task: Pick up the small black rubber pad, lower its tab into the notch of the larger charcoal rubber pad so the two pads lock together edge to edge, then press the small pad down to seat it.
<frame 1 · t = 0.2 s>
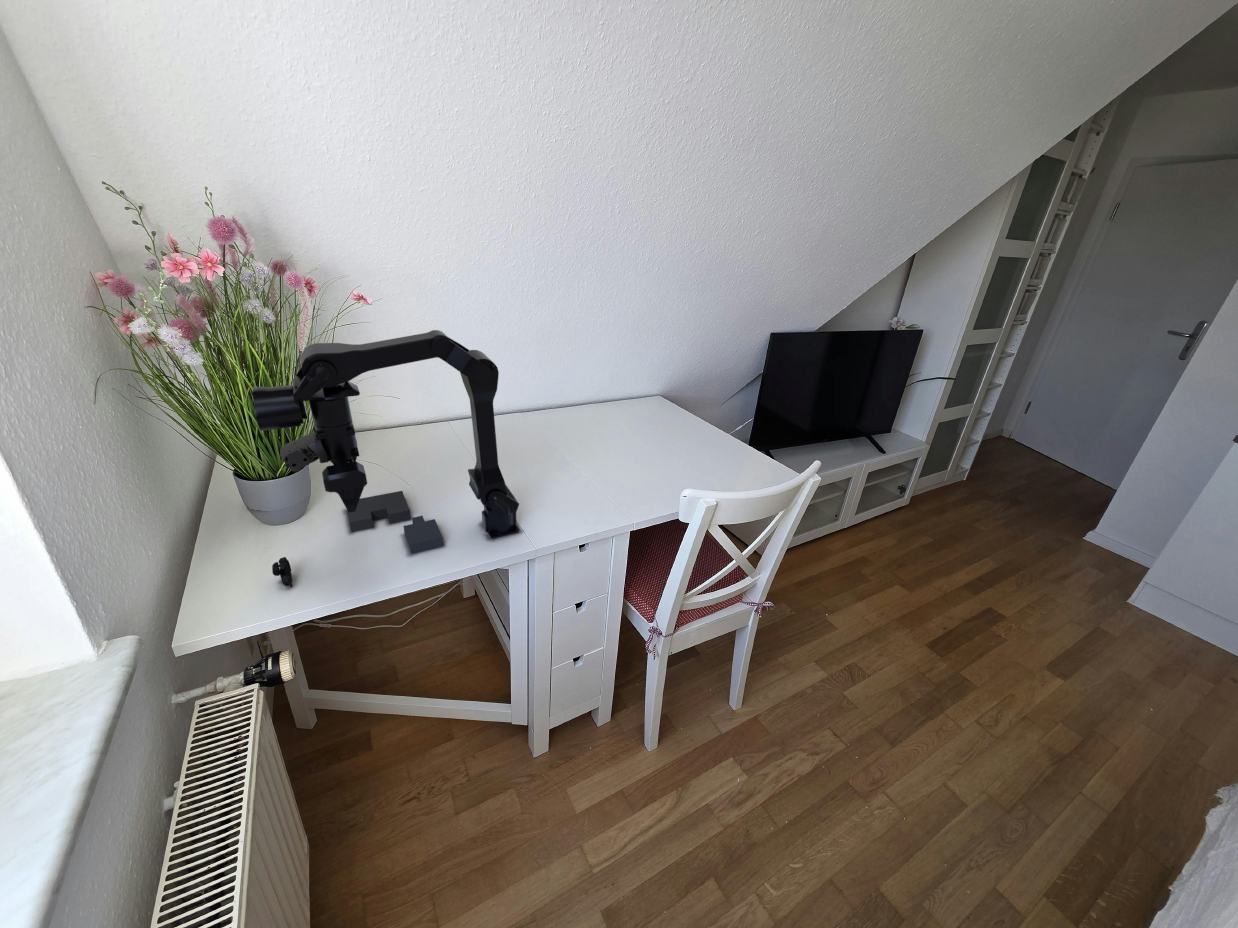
hand: (349, 498, 94), 15 cm above the table, tool pointing down, fingers open, 9 cm apart
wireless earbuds: (285, 584, 94), on the table
notch pad: (378, 515, 114), on the table
tab pad: (423, 540, 108), on the table
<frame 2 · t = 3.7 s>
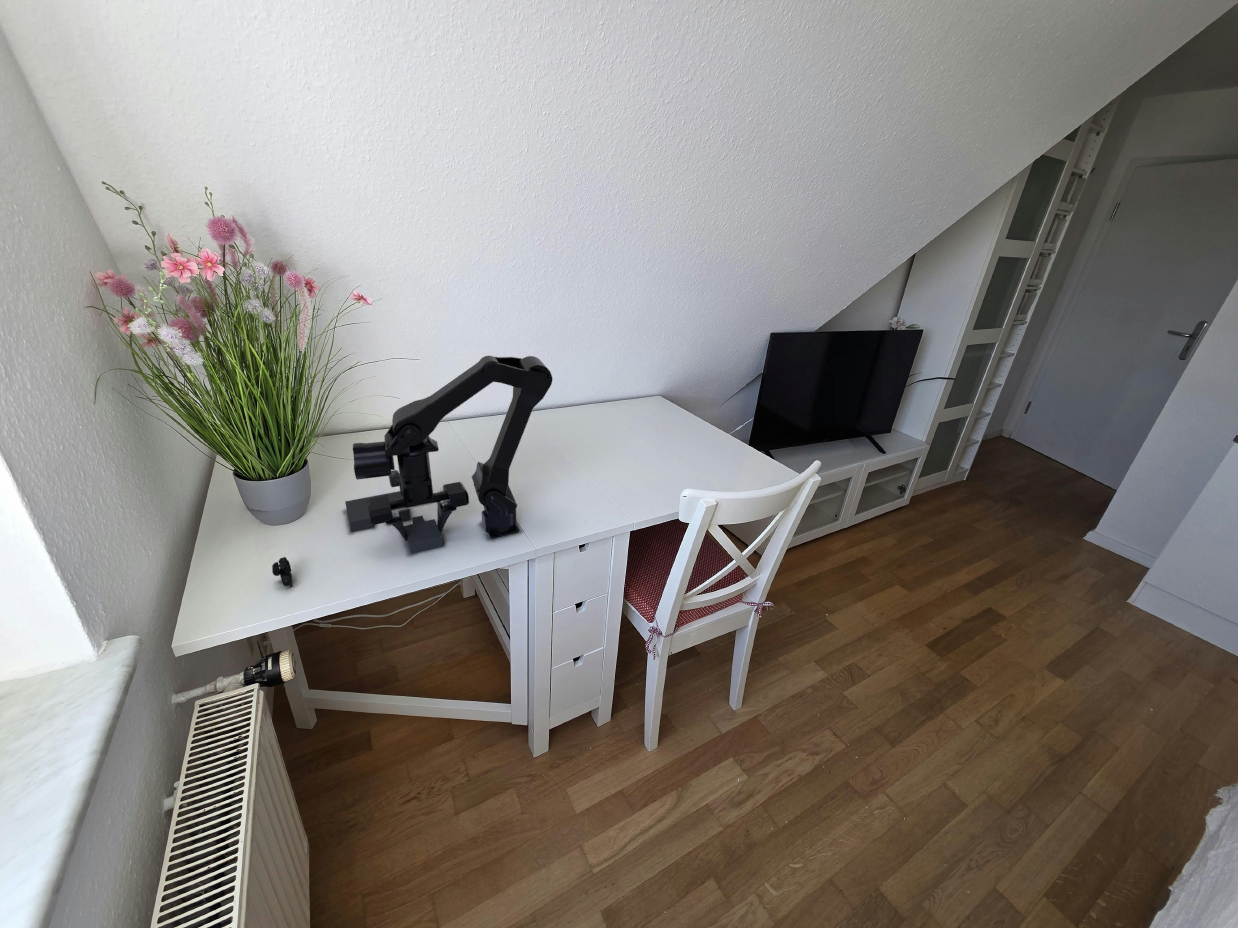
hand: (423, 535, 107), 1 cm above the table, tool pointing down, fingers closed on tab pad, 6 cm apart
tab pad: (423, 540, 108), on the table, touching gripper
everything else where it was.
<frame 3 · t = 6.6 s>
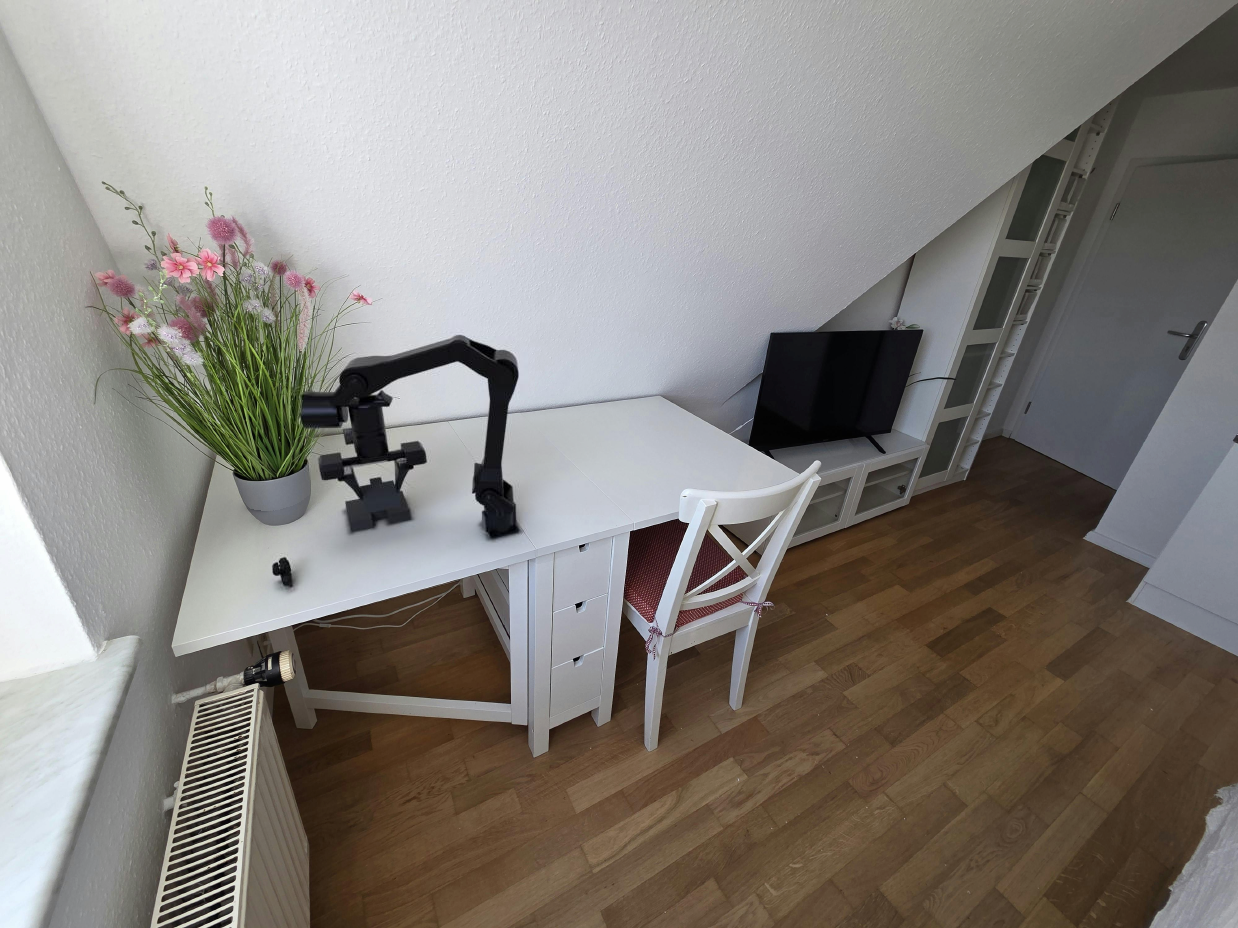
hand: (380, 496, 104), 10 cm above the table, tool pointing down, fingers closed on tab pad, 6 cm apart
tab pad: (380, 501, 104), point 8 cm above the table, touching gripper
everything else where it was.
when the fingers open (1 cm above the table, at t = 9.4 s): tab pad stays where it is, on the table.
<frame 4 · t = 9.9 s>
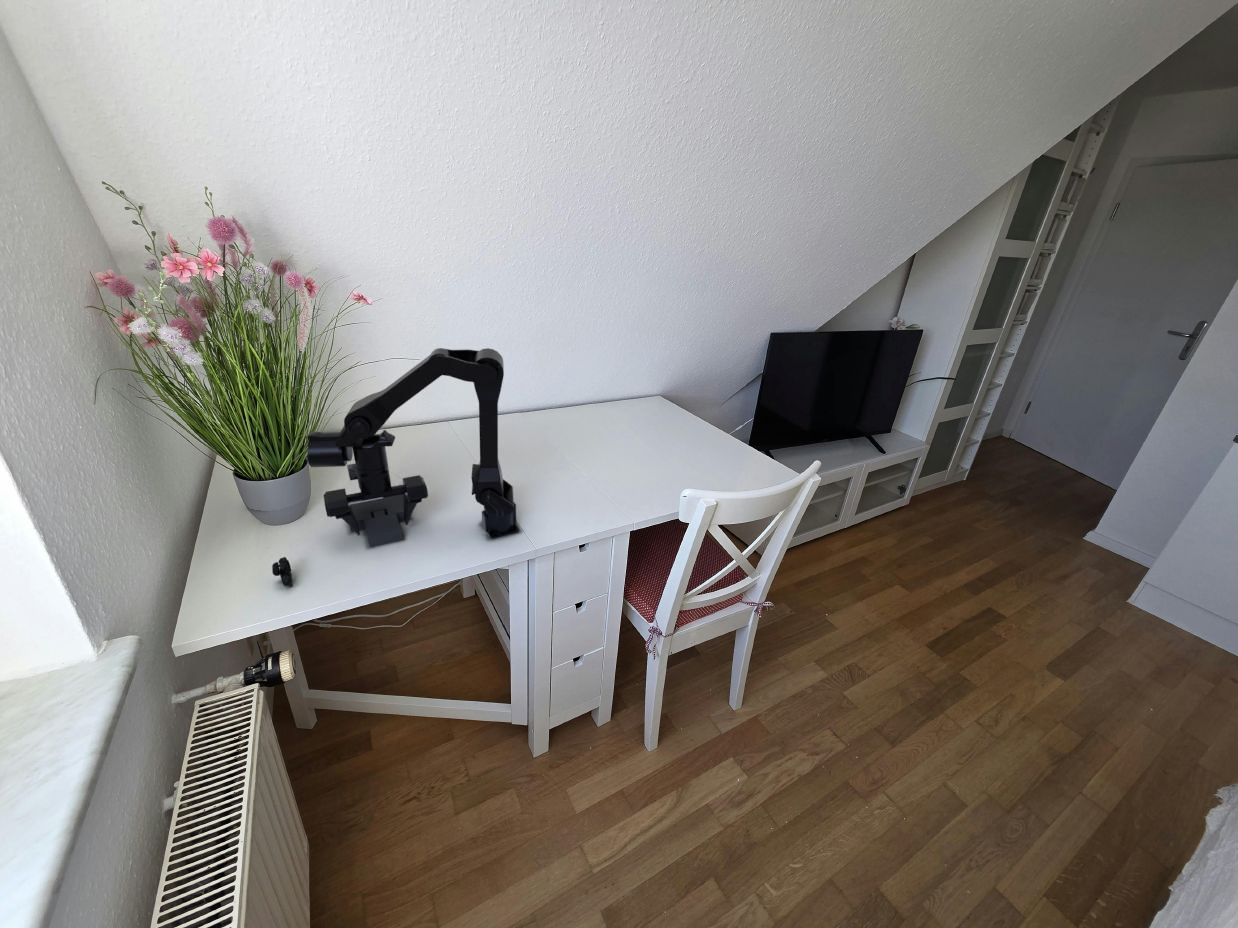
hand: (383, 529, 108), 1 cm above the table, tool pointing down, fingers open, 9 cm apart
tab pad: (384, 534, 109), on the table
everything else where it was.
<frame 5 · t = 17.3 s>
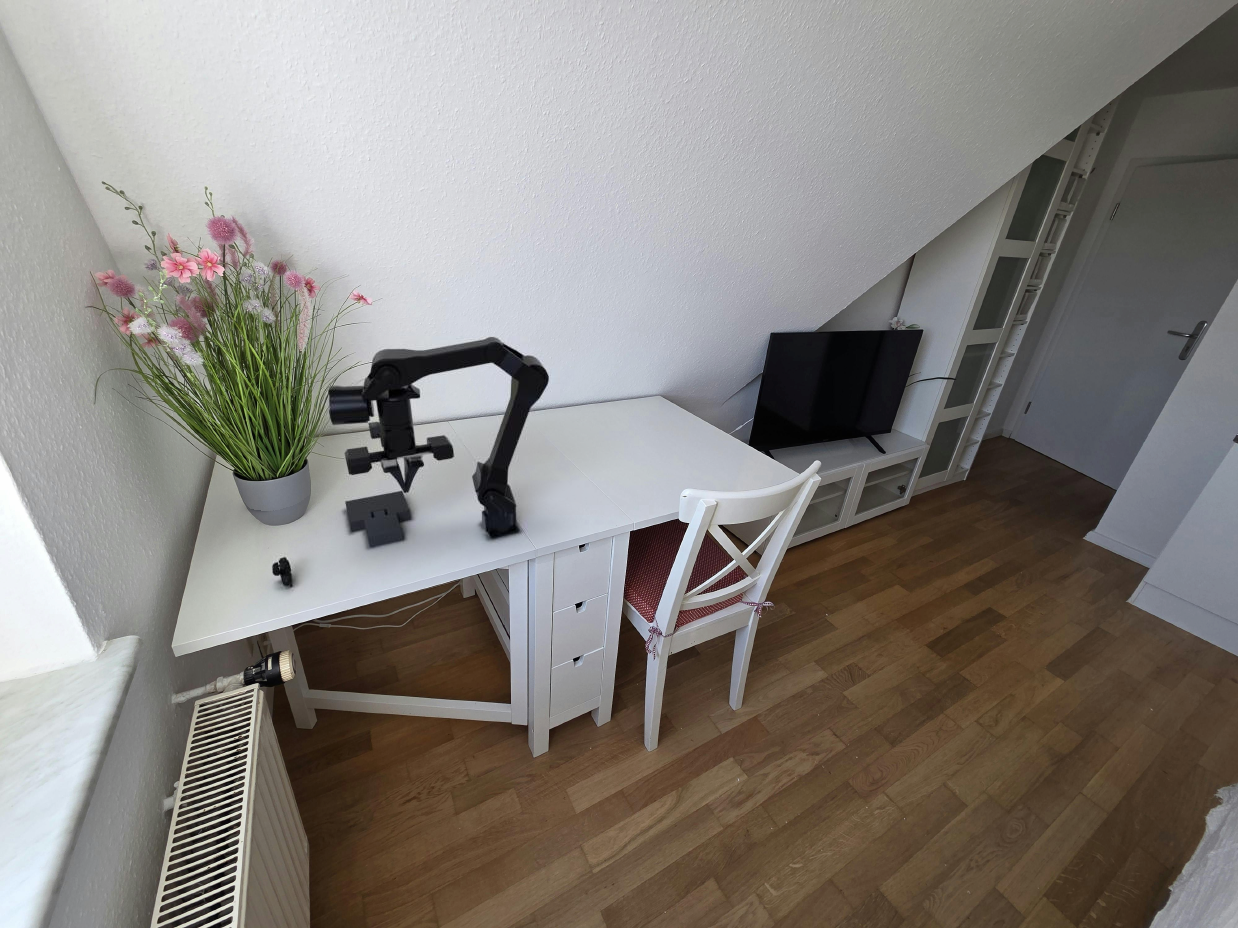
hand: (406, 491, 102), 12 cm above the table, tool pointing down, fingers closed
nothing on the table moved.
at the end: tab pad 0.2 cm from the target spot on the table beside the notch pad, on the table; tab pad tilted 0°; the gripper is holding nothing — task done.
